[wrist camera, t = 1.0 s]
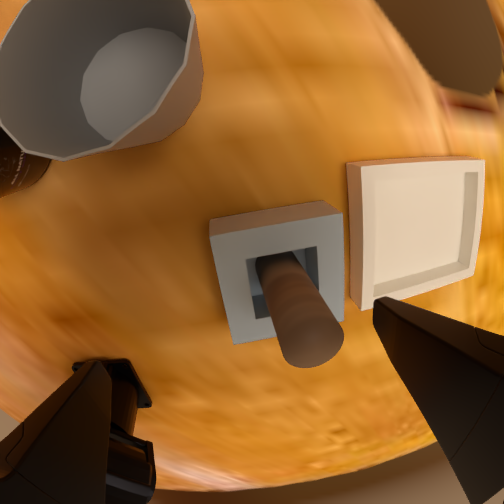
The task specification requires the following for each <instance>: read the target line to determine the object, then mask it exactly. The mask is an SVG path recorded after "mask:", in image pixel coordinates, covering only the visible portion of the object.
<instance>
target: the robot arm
mask: <svg viewBox="0 0 504 504" xmlns="http://www.w3.org/2000/svg"><path fill="white" fill-rule="evenodd" d="M373 325H374V328H375V330H376V332H377V334H378V336H379V338H380V340H381V342H382V344H383V346H384V348H385V350H386V353H387V355H388V357H389V359H390V361H391V363H392V364H393V366H394V368H395V370H396V371H397V373H398V374H399V376H400V378H401V379H402V381H403V382H404V384H405V386H406V387H407V389H408V391H409V392H410V394H411V396H412V397H413V399H414V401H415V402H416V404H417V406H418V407H419V409H420V411H421V412H422V414H423V416H424V418H425V419H426V421H427V423H428V425H429V426H430V428H431V430H432V432H433V433H434V435H435V437H436V439H437V440H438V442H439V444H440V446H441V448H442V450H443V451H444V453H445V455H446V457H447V459H448V461H450V462H449V463H450V465H451V467H452V468H453V470H454V472H455V474H456V476H457V478H458V480H459V482H460V484H461V486H462V488H463V490H464V492H465V494H466V496H467V498H468V500H469V502H470V504H483V503H484V502H485V501H487V500H489V499H490V498H491V497H492V496H494V495H495V494H496V493H497V492H499V491H500V490H501V489H502V488H504V336H502V335H498V334H495V333H492V332H489V331H486V330H483V329H480V328H477V327H475V328H474V326H471V325H468V324H466V323H463V322H460V321H457V320H454V319H451V318H448V317H445V316H442V315H440V314H437V313H434V312H431V311H428V310H425V309H422V308H419V307H416V306H413V305H411V304H408V303H405V302H402V301H399V300H396V299H393V298H390V297H387V296H384V297H380V298H377V299H375V300H374V302H373ZM124 364H125V365H124ZM126 365H127V366H126ZM72 370H73V371H74V374H73V375H72V376H71V377H70V378H69V379H68V380H66V381H65V382H64V383H63V384H62V385H61V386H60V387H59V388H58V389H57V390H56V391H55V392H53V393H52V394H51V395H50V396H49V397H48V398H47V399H46V400H45V401H44V402H43V403H42V404H41V405H40V406H38V407H37V408H36V409H35V410H34V411H33V412H32V413H31V414H30V415H29V416H28V417H27V418H26V419H25V420H24V421H23V422H22V423H21V424H20V425H19V426H17V427H16V428H15V429H14V430H13V431H12V432H11V433H10V434H9V435H8V436H7V437H5V438H4V439H3V440H2V441H1V442H0V504H147V503H148V502H149V501H150V500H151V497H152V496H153V493H154V490H155V485H156V469H155V461H154V452H153V443H152V442H150V441H147V440H146V441H144V440H142V439H139V438H137V437H134V436H133V431H134V425H135V420H136V414H137V408H149V407H151V406H152V401H151V399H150V398H149V396H148V394H147V392H146V391H145V389H144V387H143V385H142V383H141V382H140V380H139V378H138V376H137V374H136V372H135V370H134V369H133V367H132V365H131V363H130V362H129V361H128V360H112V361H98V360H93V361H88V362H83V363H74V364H73V365H72ZM503 504H504V501H503Z"/></svg>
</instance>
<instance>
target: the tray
mask: <svg viewBox="0 0 504 504" xmlns="http://www.w3.org/2000/svg"><path fill="white" fill-rule="evenodd" d="M346 169H347V183H348V200H349V222H350V297H351V299H352V300H353V301H354V302H355V304H356V305H357V306H358V308H359V309H360V310H361V311H364V310H367V309H371V308H373V302H374V300H375V299H377V298H380V297H384V296H387V297H390V298H393V299H396V300H402V299H405V298H408V297H412V296H415V295H418V294H421V293H424V292H427V291H430V290H433V289H436V288H439V287H442V286H445V285H448V284H451V283H454V282H457V281H459V280H462V279H465V278H468V277H470V276H473V275H474V270H475V265H476V259H477V253H478V247H479V239H480V232H481V223H482V213H483V200H484V181H485V160H483V159H479V158H474V157H470V156H441V157H416V158H398V159H383V160H370V161H359V162H348V163H346Z"/></svg>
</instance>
